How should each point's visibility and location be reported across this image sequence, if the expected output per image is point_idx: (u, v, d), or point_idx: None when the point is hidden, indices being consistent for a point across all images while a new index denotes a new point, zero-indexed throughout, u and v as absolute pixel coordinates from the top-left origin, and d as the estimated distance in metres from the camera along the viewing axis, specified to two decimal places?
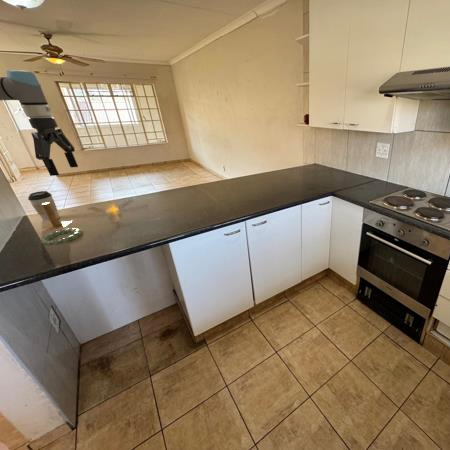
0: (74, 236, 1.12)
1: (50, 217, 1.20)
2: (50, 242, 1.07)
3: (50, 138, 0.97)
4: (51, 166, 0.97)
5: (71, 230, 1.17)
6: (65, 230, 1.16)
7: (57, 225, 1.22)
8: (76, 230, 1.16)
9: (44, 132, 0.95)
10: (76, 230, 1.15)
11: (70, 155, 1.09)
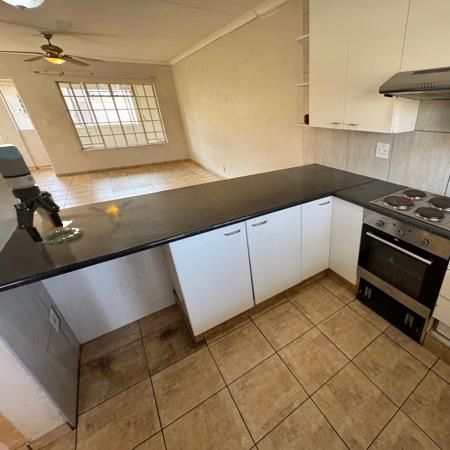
0: (74, 236, 1.12)
1: (50, 217, 1.20)
2: (50, 242, 1.07)
3: (33, 206, 0.98)
4: (35, 234, 0.98)
5: (71, 230, 1.17)
6: (65, 230, 1.16)
7: None
8: (76, 230, 1.16)
9: (27, 201, 0.96)
10: (76, 230, 1.15)
11: (55, 216, 1.09)
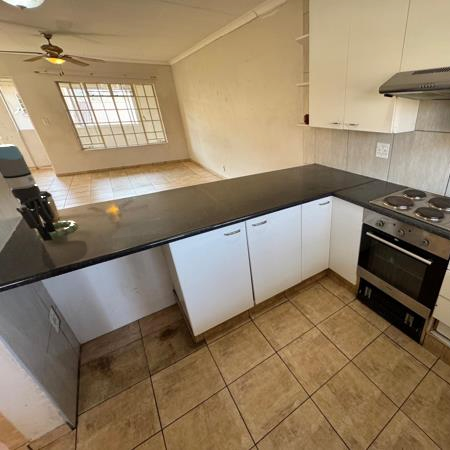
0: (69, 229, 1.10)
1: None
2: None
3: (35, 207, 0.99)
4: (45, 233, 1.03)
5: (67, 223, 1.15)
6: (61, 222, 1.14)
7: None
8: (72, 223, 1.14)
9: (27, 202, 0.96)
10: (72, 223, 1.13)
11: (49, 225, 1.06)
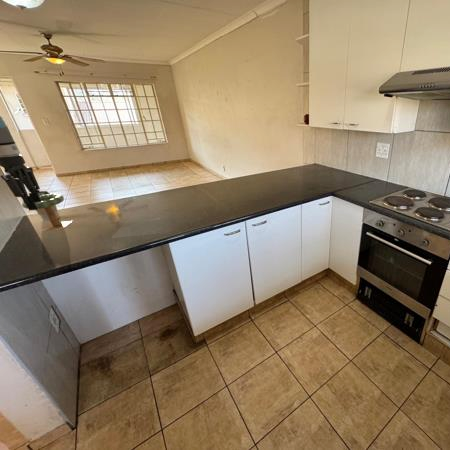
0: (54, 200, 1.14)
1: (50, 217, 1.20)
2: None
3: (19, 175, 1.02)
4: (29, 202, 1.07)
5: (53, 195, 1.19)
6: (47, 195, 1.18)
7: (57, 225, 1.22)
8: (57, 195, 1.18)
9: (11, 170, 1.00)
10: (58, 195, 1.17)
11: (35, 196, 1.10)
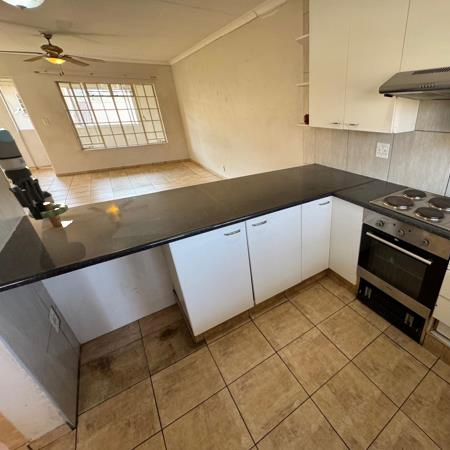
0: (59, 209, 1.18)
1: (50, 217, 1.20)
2: None
3: (26, 187, 1.07)
4: (36, 212, 1.11)
5: (57, 205, 1.23)
6: (52, 205, 1.23)
7: (57, 225, 1.22)
8: (62, 204, 1.22)
9: (18, 183, 1.04)
10: (62, 205, 1.22)
11: (40, 206, 1.14)
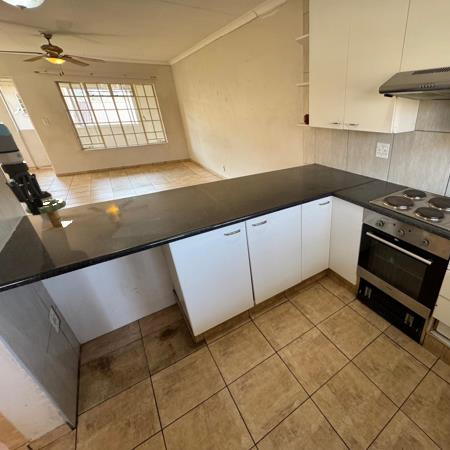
0: (57, 205, 1.17)
1: (50, 217, 1.20)
2: None
3: (24, 182, 1.06)
4: (33, 207, 1.10)
5: (55, 200, 1.22)
6: (49, 200, 1.22)
7: (57, 225, 1.22)
8: (60, 200, 1.21)
9: (15, 177, 1.03)
10: (60, 200, 1.21)
11: (38, 201, 1.13)
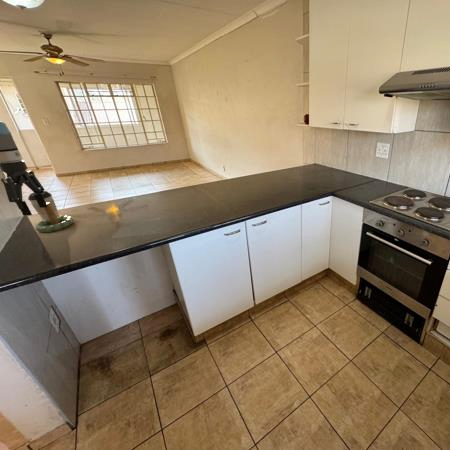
0: (65, 222, 1.21)
1: (50, 217, 1.20)
2: (43, 227, 1.16)
3: (20, 181, 1.04)
4: (24, 207, 1.06)
5: (63, 217, 1.25)
6: (58, 217, 1.25)
7: None
8: (68, 217, 1.25)
9: (13, 175, 1.02)
10: (68, 217, 1.24)
11: (39, 196, 1.14)
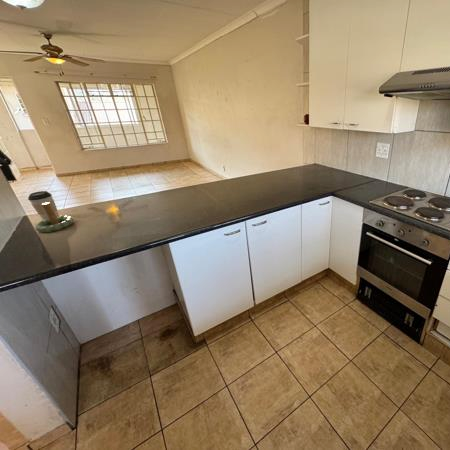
0: (65, 222, 1.21)
1: (50, 217, 1.20)
2: (43, 227, 1.16)
3: None
4: None
5: (63, 217, 1.25)
6: (58, 217, 1.25)
7: None
8: (68, 217, 1.25)
9: None
10: (68, 217, 1.24)
11: (6, 168, 1.04)
